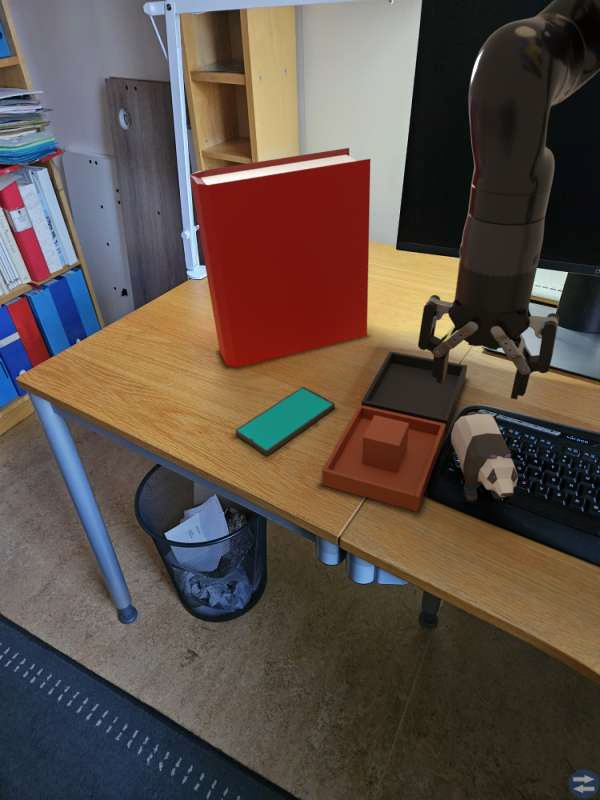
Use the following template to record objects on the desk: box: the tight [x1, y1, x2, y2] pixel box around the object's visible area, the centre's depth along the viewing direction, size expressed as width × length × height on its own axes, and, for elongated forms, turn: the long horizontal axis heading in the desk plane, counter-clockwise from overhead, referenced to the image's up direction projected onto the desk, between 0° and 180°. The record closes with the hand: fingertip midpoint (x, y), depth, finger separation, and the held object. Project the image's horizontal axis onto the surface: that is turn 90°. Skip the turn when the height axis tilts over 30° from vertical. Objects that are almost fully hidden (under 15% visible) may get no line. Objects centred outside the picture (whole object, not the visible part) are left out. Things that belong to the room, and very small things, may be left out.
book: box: [189, 147, 371, 368], centre depth 97 cm, size 27×8×32 cm, turn 110°
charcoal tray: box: [360, 350, 468, 436], centre depth 90 cm, size 13×15×3 cm
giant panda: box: [450, 411, 519, 502], centre depth 71 cm, size 15×6×10 cm, turn 2°
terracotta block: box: [362, 415, 409, 473], centre depth 77 cm, size 5×5×5 cm
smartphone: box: [235, 386, 336, 456], centre depth 87 cm, size 7×1×15 cm
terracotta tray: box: [321, 404, 446, 512], centre depth 78 cm, size 13×15×3 cm
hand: (476, 387), depth 66 cm, fingers open, 8 cm apart
